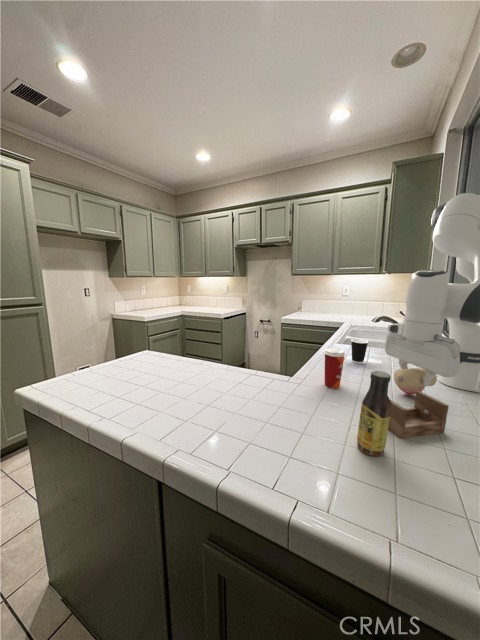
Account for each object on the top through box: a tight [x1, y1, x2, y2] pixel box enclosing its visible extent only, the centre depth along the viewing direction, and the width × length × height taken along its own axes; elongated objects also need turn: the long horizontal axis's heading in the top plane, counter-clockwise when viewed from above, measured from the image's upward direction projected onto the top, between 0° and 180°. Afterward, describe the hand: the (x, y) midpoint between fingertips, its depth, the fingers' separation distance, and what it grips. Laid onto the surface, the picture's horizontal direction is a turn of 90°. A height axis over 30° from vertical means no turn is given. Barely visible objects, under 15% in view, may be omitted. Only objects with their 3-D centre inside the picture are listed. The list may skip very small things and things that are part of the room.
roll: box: [393, 367, 438, 388], centre depth 73 cm, size 9×5×5 cm, turn 102°
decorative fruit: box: [398, 368, 426, 396], centre depth 95 cm, size 9×8×10 cm
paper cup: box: [323, 347, 346, 389], centre depth 102 cm, size 8×8×14 cm
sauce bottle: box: [356, 370, 391, 457], centre depth 63 cm, size 6×6×20 cm
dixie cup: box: [350, 338, 369, 365], centre depth 130 cm, size 8×8×11 cm
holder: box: [388, 391, 449, 440], centre depth 75 cm, size 14×9×8 cm, turn 102°
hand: (414, 380), depth 73 cm, fingers closed on roll, 5 cm apart
